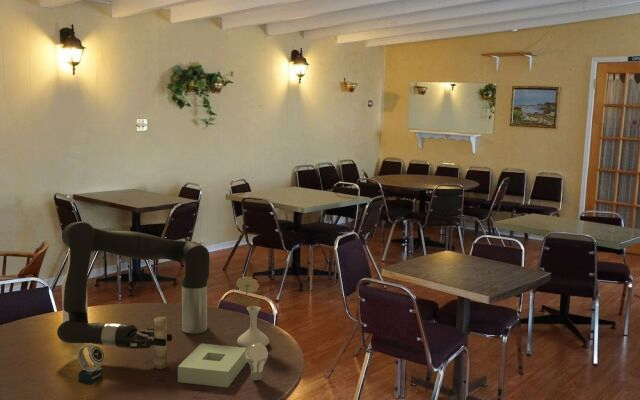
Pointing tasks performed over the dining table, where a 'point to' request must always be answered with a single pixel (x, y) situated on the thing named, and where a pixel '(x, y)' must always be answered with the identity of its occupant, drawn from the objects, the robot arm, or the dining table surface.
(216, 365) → the hole block
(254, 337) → the flower in vase
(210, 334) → the dining table surface
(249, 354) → the light bulb
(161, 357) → the peg
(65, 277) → the alcohol
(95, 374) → the watch
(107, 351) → the dining table surface
